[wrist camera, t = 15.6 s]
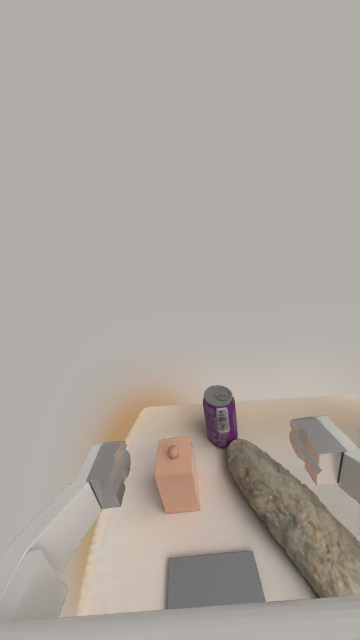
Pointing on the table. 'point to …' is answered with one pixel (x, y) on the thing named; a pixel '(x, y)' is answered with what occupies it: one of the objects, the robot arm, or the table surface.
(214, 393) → the beverage can
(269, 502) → the long grey stone
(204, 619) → the robot arm
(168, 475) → the peach block with knob
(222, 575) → the mat
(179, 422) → the table surface
